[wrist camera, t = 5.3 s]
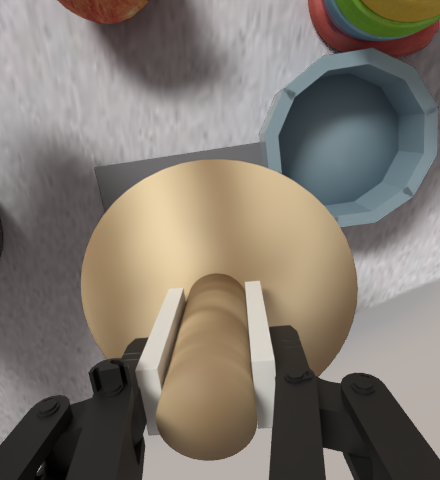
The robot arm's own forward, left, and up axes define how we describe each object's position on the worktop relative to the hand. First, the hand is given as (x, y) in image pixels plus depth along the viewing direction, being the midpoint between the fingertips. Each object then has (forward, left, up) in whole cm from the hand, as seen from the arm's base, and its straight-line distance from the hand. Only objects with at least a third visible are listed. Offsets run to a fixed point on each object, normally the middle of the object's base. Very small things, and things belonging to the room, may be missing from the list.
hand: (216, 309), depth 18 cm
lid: (0, 0, -2) cm, 2 cm away
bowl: (+11, +6, -17) cm, 21 cm away
